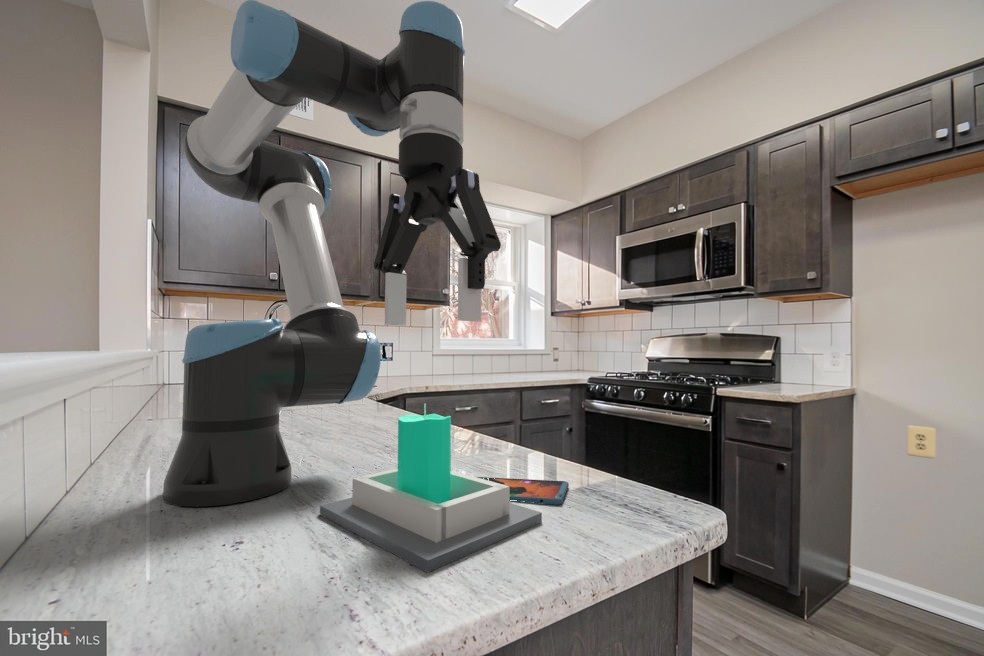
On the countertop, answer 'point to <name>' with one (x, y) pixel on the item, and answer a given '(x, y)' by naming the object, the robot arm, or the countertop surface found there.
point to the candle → (425, 456)
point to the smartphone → (534, 490)
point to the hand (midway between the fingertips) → (429, 323)
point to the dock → (430, 518)
